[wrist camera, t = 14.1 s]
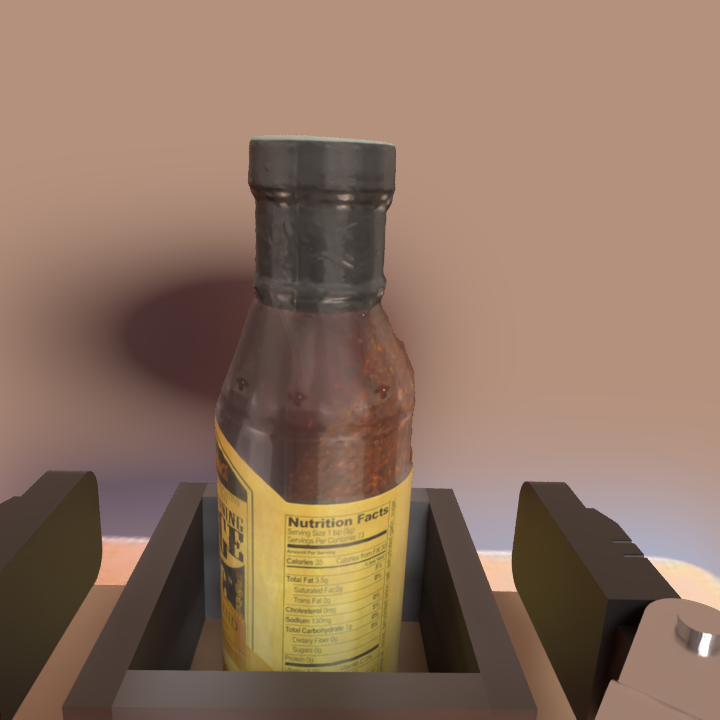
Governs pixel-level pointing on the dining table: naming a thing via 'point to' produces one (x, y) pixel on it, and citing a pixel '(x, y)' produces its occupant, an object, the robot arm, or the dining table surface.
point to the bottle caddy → (284, 688)
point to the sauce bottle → (315, 421)
